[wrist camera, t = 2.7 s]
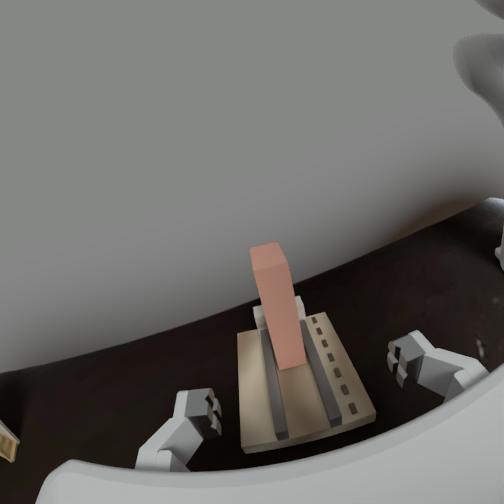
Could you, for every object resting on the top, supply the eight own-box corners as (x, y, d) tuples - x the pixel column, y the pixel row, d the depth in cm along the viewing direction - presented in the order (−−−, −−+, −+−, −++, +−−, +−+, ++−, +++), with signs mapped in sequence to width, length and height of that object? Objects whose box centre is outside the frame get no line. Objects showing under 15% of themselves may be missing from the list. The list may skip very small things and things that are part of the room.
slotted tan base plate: (325, 320, 36) (321, 289, 34) (375, 420, 19) (379, 389, 18) (240, 341, 36) (230, 312, 34) (245, 453, 20) (229, 427, 18)
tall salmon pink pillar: (296, 331, 33) (277, 241, 29) (306, 363, 27) (287, 262, 23) (272, 337, 33) (249, 248, 29) (279, 370, 27) (253, 271, 23)
